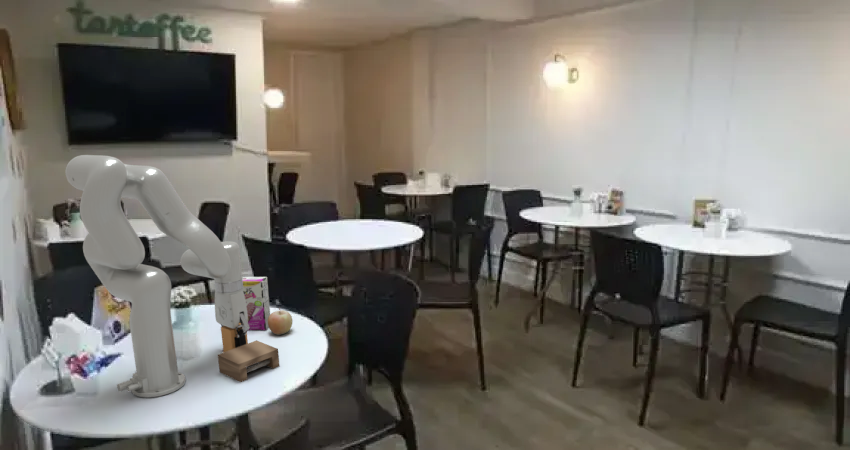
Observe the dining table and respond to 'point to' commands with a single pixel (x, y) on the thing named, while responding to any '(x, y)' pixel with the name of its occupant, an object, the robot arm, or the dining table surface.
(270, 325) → the fruit
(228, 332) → the upright orange cuboid
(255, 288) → the candy bar box
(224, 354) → the shelf
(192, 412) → the dining table surface
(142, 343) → the robot arm
